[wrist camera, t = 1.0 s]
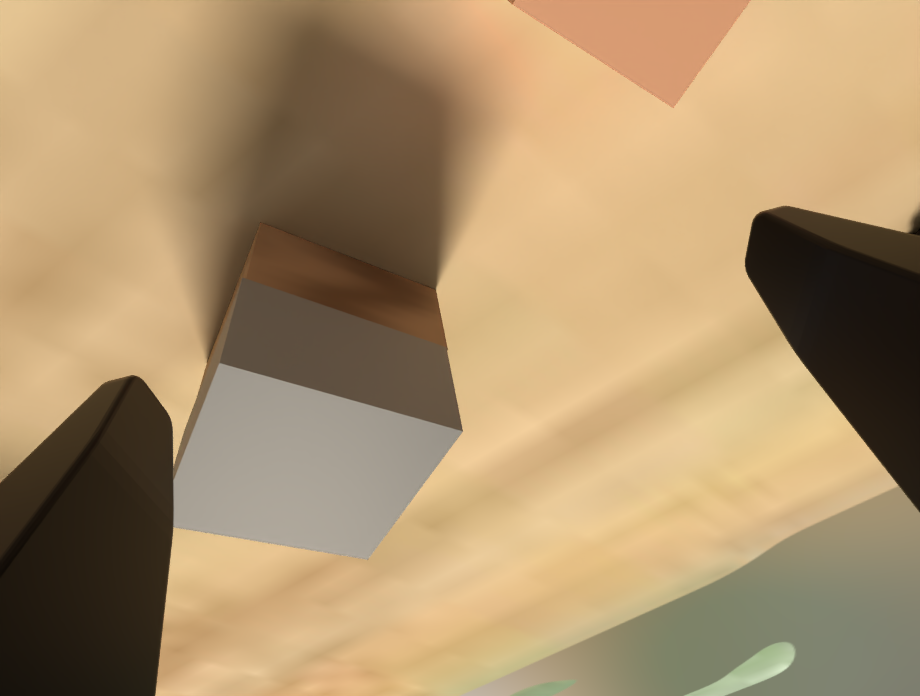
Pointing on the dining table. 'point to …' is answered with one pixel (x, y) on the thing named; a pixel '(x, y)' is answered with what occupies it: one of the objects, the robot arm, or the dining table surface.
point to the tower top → (312, 426)
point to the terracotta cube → (643, 36)
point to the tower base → (340, 285)
